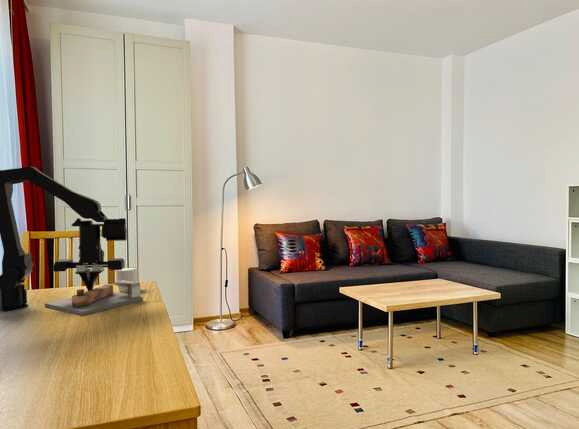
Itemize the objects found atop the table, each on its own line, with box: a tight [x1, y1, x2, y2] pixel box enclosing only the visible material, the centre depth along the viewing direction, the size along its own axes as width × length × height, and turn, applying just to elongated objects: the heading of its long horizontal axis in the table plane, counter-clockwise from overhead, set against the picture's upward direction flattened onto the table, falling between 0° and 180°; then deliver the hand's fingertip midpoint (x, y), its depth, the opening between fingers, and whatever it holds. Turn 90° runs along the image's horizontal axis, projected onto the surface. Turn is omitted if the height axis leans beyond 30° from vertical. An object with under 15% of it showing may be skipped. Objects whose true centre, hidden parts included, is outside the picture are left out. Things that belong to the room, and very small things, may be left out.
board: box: [44, 291, 144, 316], centre depth 129 cm, size 19×19×1 cm
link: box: [71, 283, 114, 307], centre depth 129 cm, size 18×4×4 cm, turn 173°
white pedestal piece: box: [115, 267, 138, 292], centre depth 147 cm, size 7×7×7 cm
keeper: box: [113, 280, 141, 298], centre depth 133 cm, size 3×8×4 cm, turn 56°
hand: (90, 293), depth 131 cm, fingers closed
